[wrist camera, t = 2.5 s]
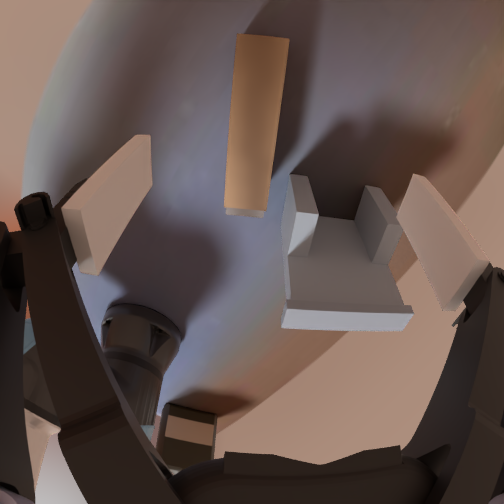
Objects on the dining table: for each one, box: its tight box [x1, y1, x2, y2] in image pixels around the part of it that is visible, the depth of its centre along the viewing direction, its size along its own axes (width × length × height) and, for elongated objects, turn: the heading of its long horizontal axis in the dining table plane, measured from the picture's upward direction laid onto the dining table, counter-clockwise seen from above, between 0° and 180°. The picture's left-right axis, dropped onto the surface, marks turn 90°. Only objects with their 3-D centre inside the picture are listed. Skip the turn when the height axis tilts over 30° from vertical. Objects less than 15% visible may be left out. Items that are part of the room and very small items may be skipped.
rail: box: [224, 34, 290, 218], centre depth 26 cm, size 4×17×6 cm, turn 174°
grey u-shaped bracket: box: [281, 174, 414, 331], centre depth 29 cm, size 12×7×15 cm, turn 85°
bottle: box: [156, 403, 217, 475], centre depth 69 cm, size 8×16×25 cm, turn 67°
